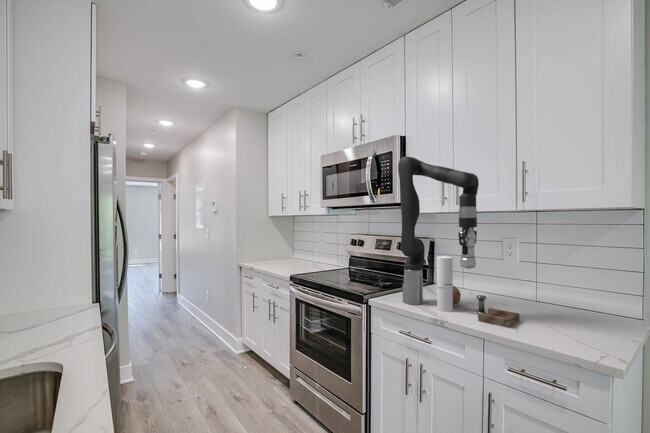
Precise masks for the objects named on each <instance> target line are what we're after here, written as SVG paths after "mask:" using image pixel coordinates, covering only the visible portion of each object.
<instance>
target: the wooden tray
mask: <svg viewBox="0 0 650 433" xmlns="http://www.w3.org/2000/svg"><path fill="white" fill-rule="evenodd" d="M519 321H520V313H519V312H515V311H514V312H513V311H508V310H502V309H498V308H492V307H489V308H487V313H486V314H483V313H479V314H477V322H482V323H486V324H490V325H494V326H495V325H496V326H498V327H499V326H500V327H504V328H508V329H509V328H511V327H513V326H514V325H515V324H517V323H518V322H519Z"/></svg>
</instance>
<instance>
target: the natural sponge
mask: <svg viewBox="0 0 650 433" xmlns="http://www.w3.org/2000/svg"><path fill="white" fill-rule="evenodd" d="M461 296H462V293H461V291H460V289H459V288H458V287H456V286H455V285H453V307H454V306H456V305H459V303H460V302H461Z"/></svg>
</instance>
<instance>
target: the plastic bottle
mask: <svg viewBox="0 0 650 433" xmlns="http://www.w3.org/2000/svg"><path fill="white" fill-rule="evenodd" d="M470 232H471V233H470ZM465 238H466V239H468V238H469V241H468V246H467V247H468V254H467V255H463V254H462V252H461V257H460V261H459V263H460V267H461V268H464V269H469V270H470V269H475V267H476V266H477V260H476V255H475V254H476V253H475V247H476V246H475V245H476V244H475V238H476V236H475V233H474V232H473V231H472V228H469V231H468V235H467V236H465ZM476 239H477V238H476ZM461 242H462V241H461ZM460 246H461V245H460ZM461 248H462V246H461Z"/></svg>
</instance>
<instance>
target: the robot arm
mask: <svg viewBox="0 0 650 433" xmlns="http://www.w3.org/2000/svg"><path fill="white" fill-rule="evenodd" d="M397 169H398V177H399V185H400V212H401V238H400V239H401V240H400V250H401V252H402V254H403V255H404V256H405V257H408V259H407V260H406V262H405V263H404V264H403V283H402V303H405V304H407V305H414V306H415V305H416V306H417V305H418V306H419V305H422V304H423V303H424V302H423V301H424V300H423V299H424V291H423V290H424V288H423V287H424V285H423V284H424V282H423V281H424V280H423V279H424V277H423V275H424V274H423V268H424V267H423V266H424V264H425V243H424V242H423V240H422V239H420V238H419V237H418V238H417V237H416V235H415V232H416V231H415V229H416V225H417V223H418V220H419V217H420V210H421V208H420V199H419V195H418V193H417V190H416V188H415V185H414V178H413V177H414V176H422V177H426V178H427V177H428V178H430V179H432V180H435V181H438V182H442V183H445V184H450V185H452V186H456V187H459V188H462V194H461V195H459V199H458V200H459V201H458V202H459V204H458V205H459V209H458V227H459V228H461V229H462V230H461V231H458V241H459V242H458V243H459V246H462V247H461V253H462V254H463V255H467V254H468V247H467V246H468V241H469V238H468V239H466V238H465V236H467V235H468V231H469V228H472V231H473V232H474V233H475V236H476V238H475V245H476V244H477V235H478V231H477V230H474V229H475V228H477V227H478V211H477V195H478V190H479V185H480V183H479V178H478V176H477V174H476V173H475V174H474V173H470V172H466V171H462V170H457V169H453V168H449V167H445V166H440V165H433V164H429V163H428V162H427V163H426V162H424V161H421V160H419V159H418V158H416V157H412V156H405V155H404V156H403V157H401V158H400V159H399V160H398V164H397ZM470 233H471V232H470ZM461 241H462V242H461Z"/></svg>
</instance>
